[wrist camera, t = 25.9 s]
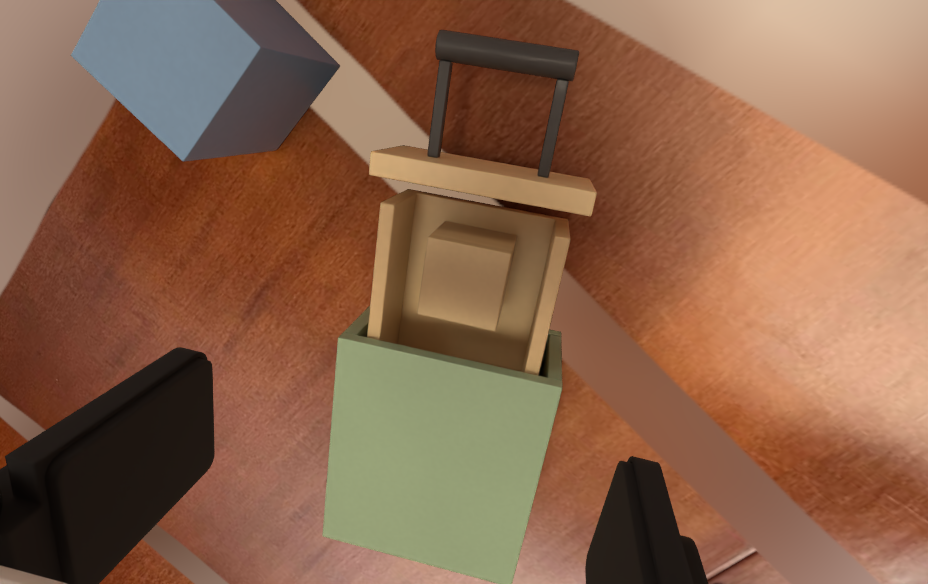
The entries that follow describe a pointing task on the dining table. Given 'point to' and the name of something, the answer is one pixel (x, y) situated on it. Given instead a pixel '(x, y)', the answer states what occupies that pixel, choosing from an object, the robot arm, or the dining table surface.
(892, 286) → the dining table surface
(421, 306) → the block
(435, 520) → the cabinet
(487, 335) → the drawer
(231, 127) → the block
